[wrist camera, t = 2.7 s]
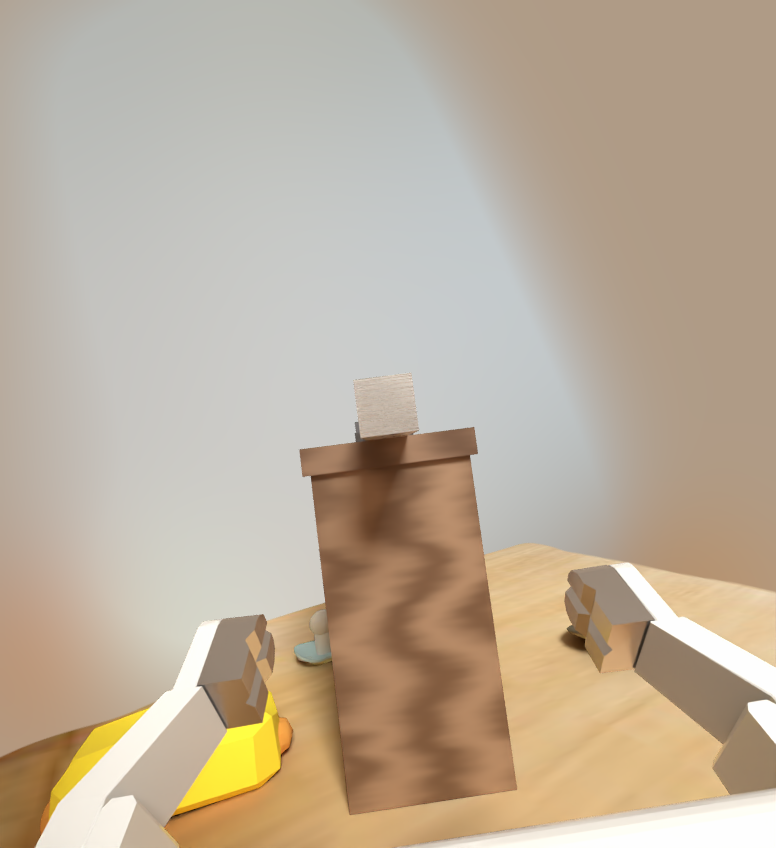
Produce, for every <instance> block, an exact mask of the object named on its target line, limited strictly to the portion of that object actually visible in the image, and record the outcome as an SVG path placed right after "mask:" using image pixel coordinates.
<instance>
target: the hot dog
mask: <svg viewBox="0 0 776 848" xmlns="http://www.w3.org/2000/svg"><path fill="white" fill-rule="evenodd" d="M268 692H269V691H268ZM148 709H149V708H148ZM148 709H145V710H143V711H140V712H137V713H135V714H132V715H129V716H127V717H124V718H121V719H119V720H116V721H113V722H111V723H108V724H105V725H103V726H100V727H97V728H95V729H94V730H93V731H92V732H91V734H90V735H89V736H88V738H87V739H86V741H85V742H84V743H83V745H82V746H81V748H80V749H79V750H78V752H77V753H76V754H75V756H74V758H73V759H72V761H71V763H70V765H69V767H68V769H67V770H66V772H65V773H64V774H63V776H62V777H61V779H60V780H59V781H58V783H57V784H56V786H55V787H54V788H53V790H52V791H51V798H50V801H49V802H48V804H47V805H46V807H45V809H44V812H43V815H42V818H41V821H40V833H41V835H42V833H43V831H44V829H45V828H46V826H47V824H48V822H49V820H50V818H51V816H52V814H53V812H54V811H55V809H56V807H57V805H58V803H59V802H60V801H61V800H62V799H63V798H64V797H65V796H66V795H67V794H68V793H69V792H70V791H71V790H72V789H73V788H74V787H75V786H76V785H77V783H78V782H79V781H80V780H81V779H82V778H83V777H84V776H85V775H86V774H87V773H88V772H89V771H90V770H91V769H92V768H93V767H94V766H95V765H96V764H97V763H98V762H99V761H100V759H101V758H102V757H103V756H104V755H105V754H106V753H107V752H108V751H109V750H110V749H111V748H112V747H113V746H114V745H115V744H116V743H117V742H118V741H119V740H120V739H121V738H122V737H123V735H124V734H125V733H126V732H127V731H128V730H129V729H130V728H131V727H132V726H133V725H134V724H135V723H136V722H137V721H138V720H139V719H140V718H141V717H142V716H143V715H144V714H145V713H146V711H147V710H148ZM292 733H293V729H292V727H291V725H290V724H289V722H288V720H287V718H280V717H279V716H278V712H277V709H276V706H275V703H274V700H273V697H272V694H271V692H269V693H268V698H267V703H266V708H265V713H264V718H263V723H259V724H253V725H247V726H242V727H236V728H231V729H227V733H226V735H225V736H224V738H223V739H222V741H221V742H220V744H219V745H218V747H217V748H216V750H215V751H214V753H213V754H212V756H211V757H210V759H209V760H208V762H207V763H206V765H205V766H204V768H203V769H202V771H201V772H200V774H199V775H198V777H197V778H196V780H195V781H194V783H193V785H192V786H191V788H190V789H189V791H188V792H187V794H186V795H185V797H184V798H183V800H182V801H181V803H180V804H179V806H178V807H177V809H176V810H175V812H174V813H173V815H172V816H174V815H177V814H180V813H183V812H186V811H190V810H193V809H196V808H199V807H202V806H205V805H208V804H212V803H215V802H218V801H221V800H224V799H227V798H230V797H233V796H236V795H239V794H242V793H245V792H248V791H251V790H254V789H257V788H260V787H261V786H262V785H263V784H265V783H266V782H267V781H268V780H269V779H270V778H271V777H272V776H273V775H274V774H275V773H276V772H277V771H278V770H279V769H280V768H281V754H282V753H283V752H284V751H285V750H286V749H287V748H289V746H290V742H291V738H292ZM172 816H171V817H172Z"/></svg>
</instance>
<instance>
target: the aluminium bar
mask: <svg viewBox="0 0 776 848" xmlns="http://www.w3.org/2000/svg"><path fill="white" fill-rule="evenodd" d="M354 389H355V397H356V404H357V413H358V421H359V429H360V438H362V439H364V440H366V441H370V440H378V439H386V438H393V437H401V436H408V435H410V434H412V433H415V432H417V431H419V428H418V420H417V413H416V405H415V397H414V390H413V382H412V375H411V373H407V374H398V375H390V376H382V377H374V378H366V379H358V380H354Z"/></svg>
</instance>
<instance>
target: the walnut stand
mask: <svg viewBox="0 0 776 848" xmlns="http://www.w3.org/2000/svg"><path fill="white" fill-rule="evenodd" d="M355 427H356V433H355V438H356V442H354V443H347V444H339V445H332V446H324V447H316V448H308V449H300V458H301V467H302V475H303V477H305V476H311V482H312V491H313V499H314V508H315V517H316V525H317V533H318V542H319V551H320V560H321V569H322V577H323V586H324V594H325V603H326V612H327V621H328V629H329V638H330V647H331V655H332V664H333V673H334V681H335V690H336V699H337V707H338V716H339V725H340V733H341V742H342V751H343V759H344V768H345V777H346V785H347V794H348V803H349V811H350V815H352V814H359V813H365V812H372V811H378V810H385V809H391V808H398V807H405V806H411V805H418V804H424V803H431V802H437V801H444V800H450V799H457V798H463V797H470V796H476V795H483V794H489V793H496V792H503V791H509V790H516V789H517V785H516V778H515V771H514V764H513V757H512V750H511V743H510V736H509V729H508V722H507V715H506V707H505V700H504V693H503V686H502V679H501V672H500V665H499V658H498V651H497V644H496V637H495V630H494V623H493V616H492V609H491V602H490V594H489V587H488V580H487V573H486V566H485V559H484V552H483V545H482V538H481V531H480V525H479V517H478V510H477V503H476V496H475V488H474V481H473V474H472V468H471V460H470V455H474V454H478V452H477V444H476V437H475V430H474V427H472V428H464V429H456V430H448V431H441V432H433V433H425V434H417V435H413V433H412V434H410V435H408V436H401V437H393V438H386V439H378V440H370V441H366V440H364V439H362V438H360V429H359V422H355Z"/></svg>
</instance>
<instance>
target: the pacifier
mask: <svg viewBox="0 0 776 848" xmlns="http://www.w3.org/2000/svg"><path fill="white" fill-rule="evenodd" d="M309 626H310V630H311V631H312V632H313V633H314V638H315V640H314V641H311V642H307V643H303V644H299V645H297V646H296V647H295V648H294V652H295V654H296V656H297V659H298V660H300V661H304V662H310V663H311V664H313V665H320V664H324V663H327V662H330V661H332V655H331V647H330V638H329V629H328V621H327V612H326V610H325V609H324V610H319V611H317V612H316V613H314V615H313V616H312V617H311V619H310V623H309Z"/></svg>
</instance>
